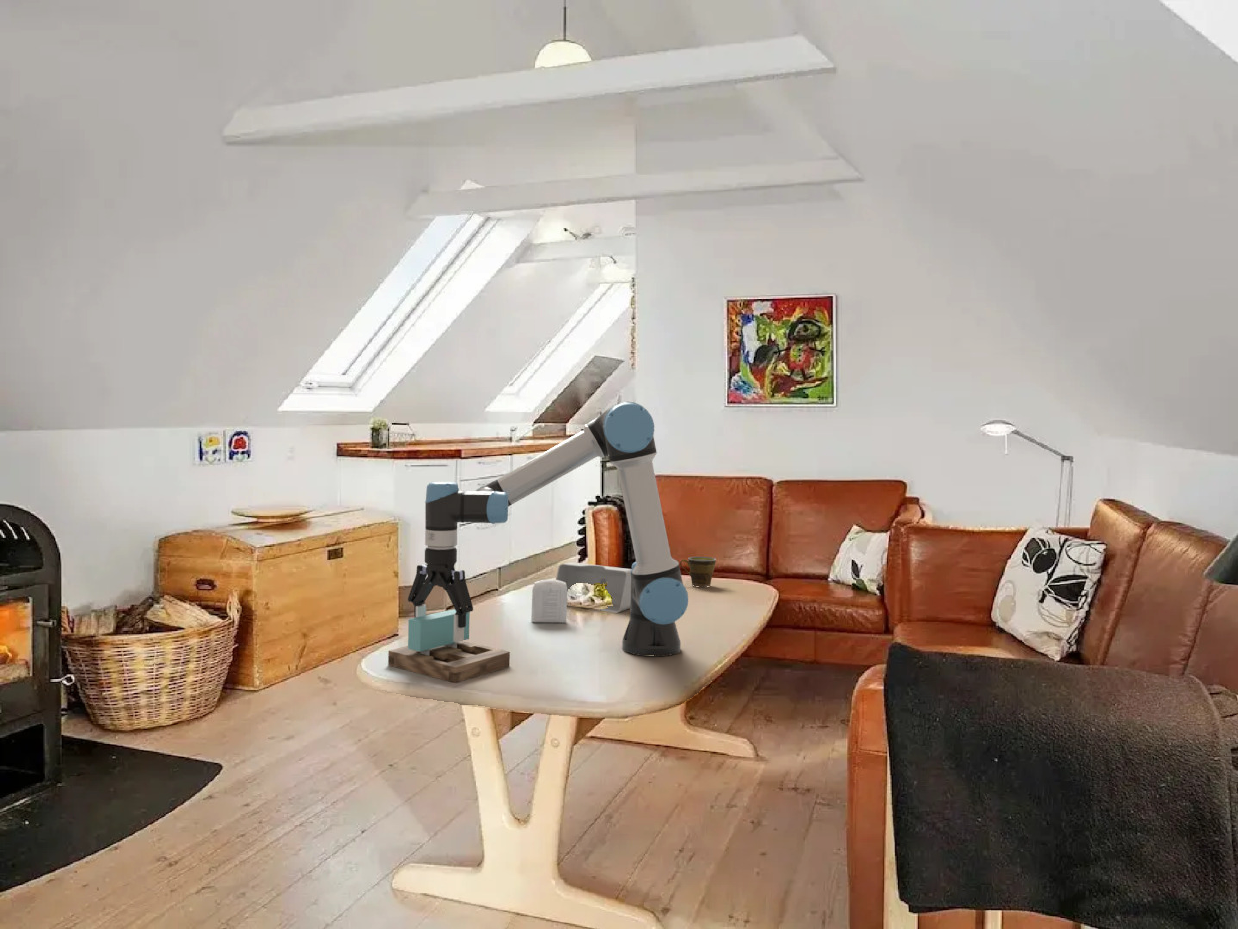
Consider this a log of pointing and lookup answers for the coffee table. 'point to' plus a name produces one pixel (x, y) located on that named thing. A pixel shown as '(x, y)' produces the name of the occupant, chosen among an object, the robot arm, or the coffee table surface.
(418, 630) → the block with headed pegs
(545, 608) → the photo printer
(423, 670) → the keyhole board
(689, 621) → the coffee table surface
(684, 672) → the coffee table surface
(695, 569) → the ceramic cup
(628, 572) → the grey storage bin
